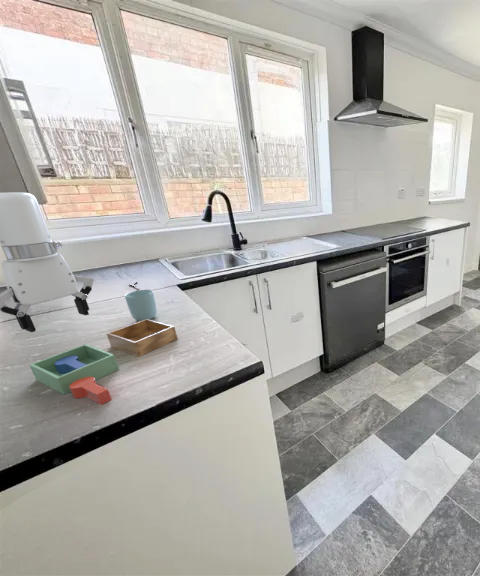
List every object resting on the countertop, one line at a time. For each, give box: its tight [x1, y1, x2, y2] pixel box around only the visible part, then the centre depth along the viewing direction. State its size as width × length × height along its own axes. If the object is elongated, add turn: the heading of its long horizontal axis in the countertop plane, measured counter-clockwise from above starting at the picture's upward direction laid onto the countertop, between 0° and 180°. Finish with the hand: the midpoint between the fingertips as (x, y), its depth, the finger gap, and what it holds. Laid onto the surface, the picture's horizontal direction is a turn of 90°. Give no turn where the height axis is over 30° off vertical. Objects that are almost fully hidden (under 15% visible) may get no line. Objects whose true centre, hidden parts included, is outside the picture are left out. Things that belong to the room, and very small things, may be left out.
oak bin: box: [106, 319, 179, 358], centre depth 94 cm, size 11×14×4 cm
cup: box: [124, 289, 158, 322], centre depth 110 cm, size 8×8×10 cm
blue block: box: [54, 356, 86, 374], centre depth 79 cm, size 11×4×3 cm, turn 66°
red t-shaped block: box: [69, 377, 112, 406], centre depth 71 cm, size 11×4×3 cm, turn 65°
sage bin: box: [29, 343, 120, 395], centre depth 79 cm, size 11×14×4 cm
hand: (59, 322), depth 73 cm, fingers open, 9 cm apart
